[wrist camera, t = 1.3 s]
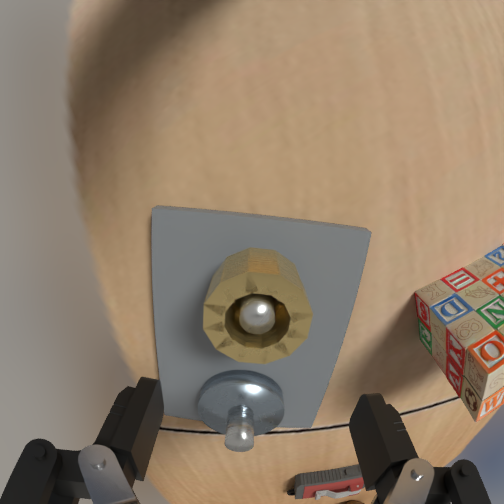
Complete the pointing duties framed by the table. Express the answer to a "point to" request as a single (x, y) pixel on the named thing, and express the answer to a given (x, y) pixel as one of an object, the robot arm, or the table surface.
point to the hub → (241, 406)
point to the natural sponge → (354, 502)
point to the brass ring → (259, 282)
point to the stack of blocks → (468, 330)
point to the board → (197, 284)
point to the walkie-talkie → (328, 483)
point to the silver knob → (257, 312)
